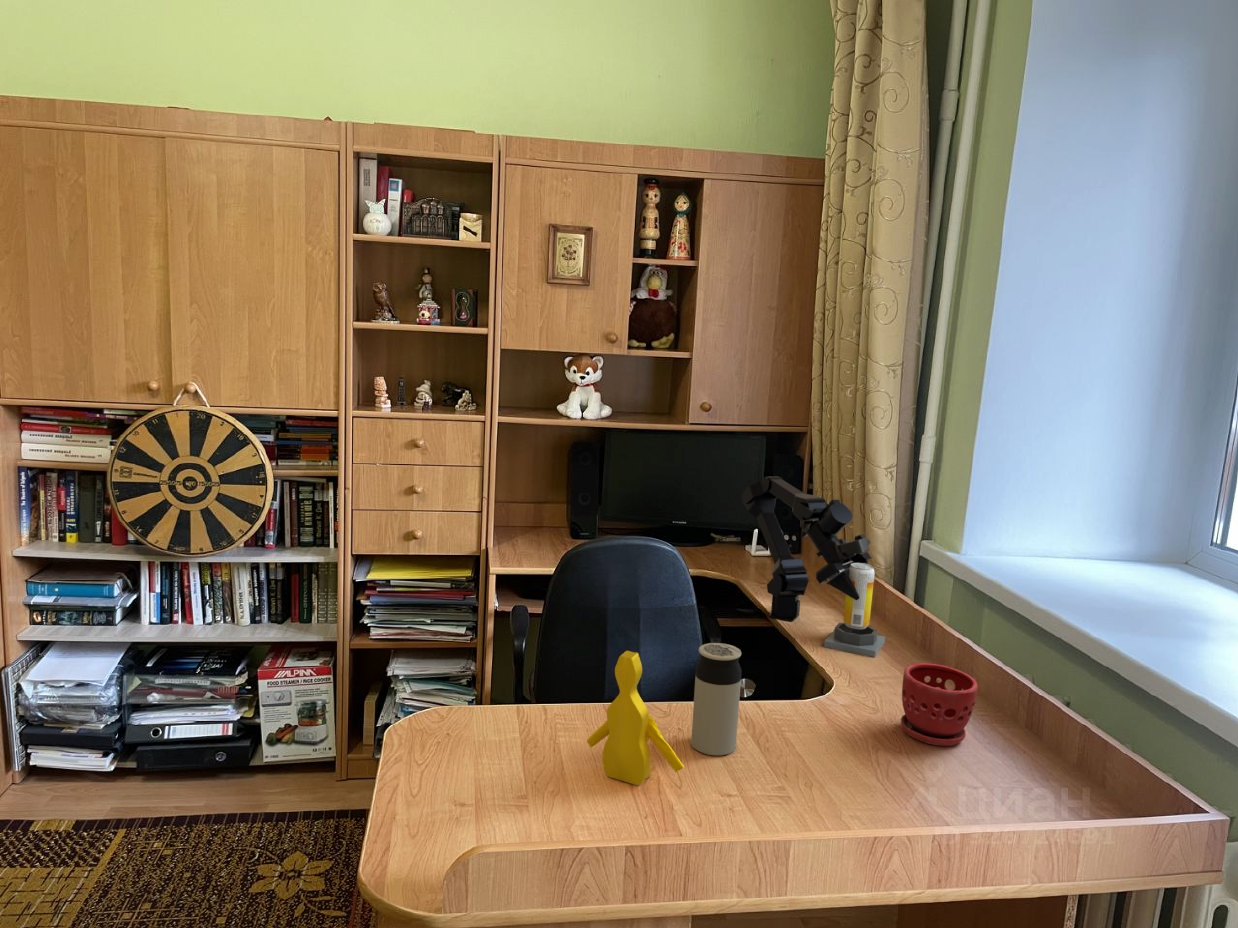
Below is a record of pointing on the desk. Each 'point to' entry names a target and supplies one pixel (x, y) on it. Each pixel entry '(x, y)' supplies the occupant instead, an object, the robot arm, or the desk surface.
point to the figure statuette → (630, 729)
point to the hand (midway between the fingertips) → (864, 596)
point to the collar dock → (855, 640)
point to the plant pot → (937, 703)
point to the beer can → (861, 608)
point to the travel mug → (716, 699)
